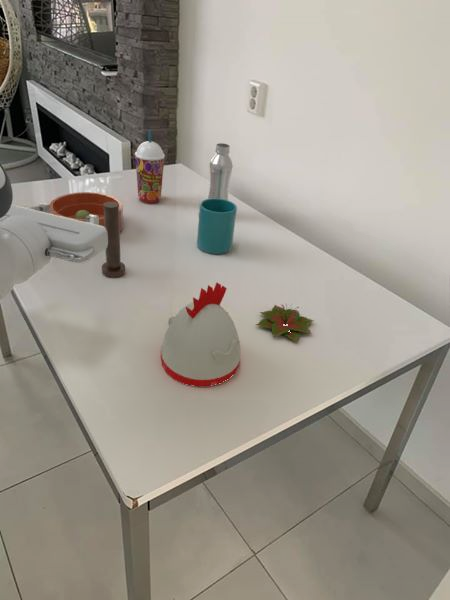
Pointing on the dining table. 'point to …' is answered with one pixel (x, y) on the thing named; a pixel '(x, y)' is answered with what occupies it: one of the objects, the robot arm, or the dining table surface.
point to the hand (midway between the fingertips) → (70, 213)
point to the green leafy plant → (285, 322)
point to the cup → (216, 225)
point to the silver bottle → (220, 172)
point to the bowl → (84, 206)
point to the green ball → (82, 214)
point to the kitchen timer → (201, 342)
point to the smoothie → (149, 171)
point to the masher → (112, 242)
